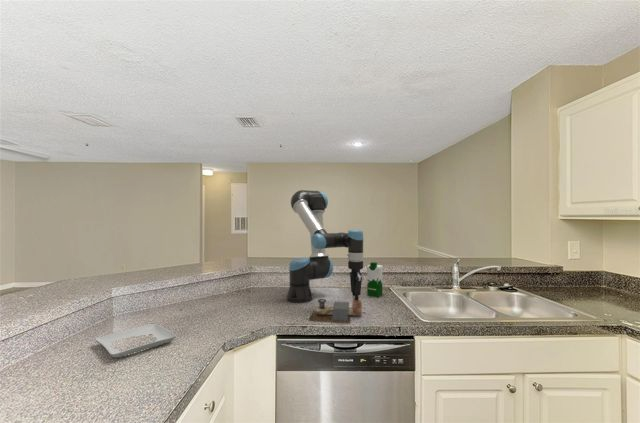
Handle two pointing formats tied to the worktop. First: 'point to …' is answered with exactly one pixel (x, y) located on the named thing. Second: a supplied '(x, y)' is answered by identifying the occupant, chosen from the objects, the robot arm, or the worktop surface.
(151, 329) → the salad plate
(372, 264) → the milk carton
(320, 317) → the keeper
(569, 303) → the worktop surface
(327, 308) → the link
